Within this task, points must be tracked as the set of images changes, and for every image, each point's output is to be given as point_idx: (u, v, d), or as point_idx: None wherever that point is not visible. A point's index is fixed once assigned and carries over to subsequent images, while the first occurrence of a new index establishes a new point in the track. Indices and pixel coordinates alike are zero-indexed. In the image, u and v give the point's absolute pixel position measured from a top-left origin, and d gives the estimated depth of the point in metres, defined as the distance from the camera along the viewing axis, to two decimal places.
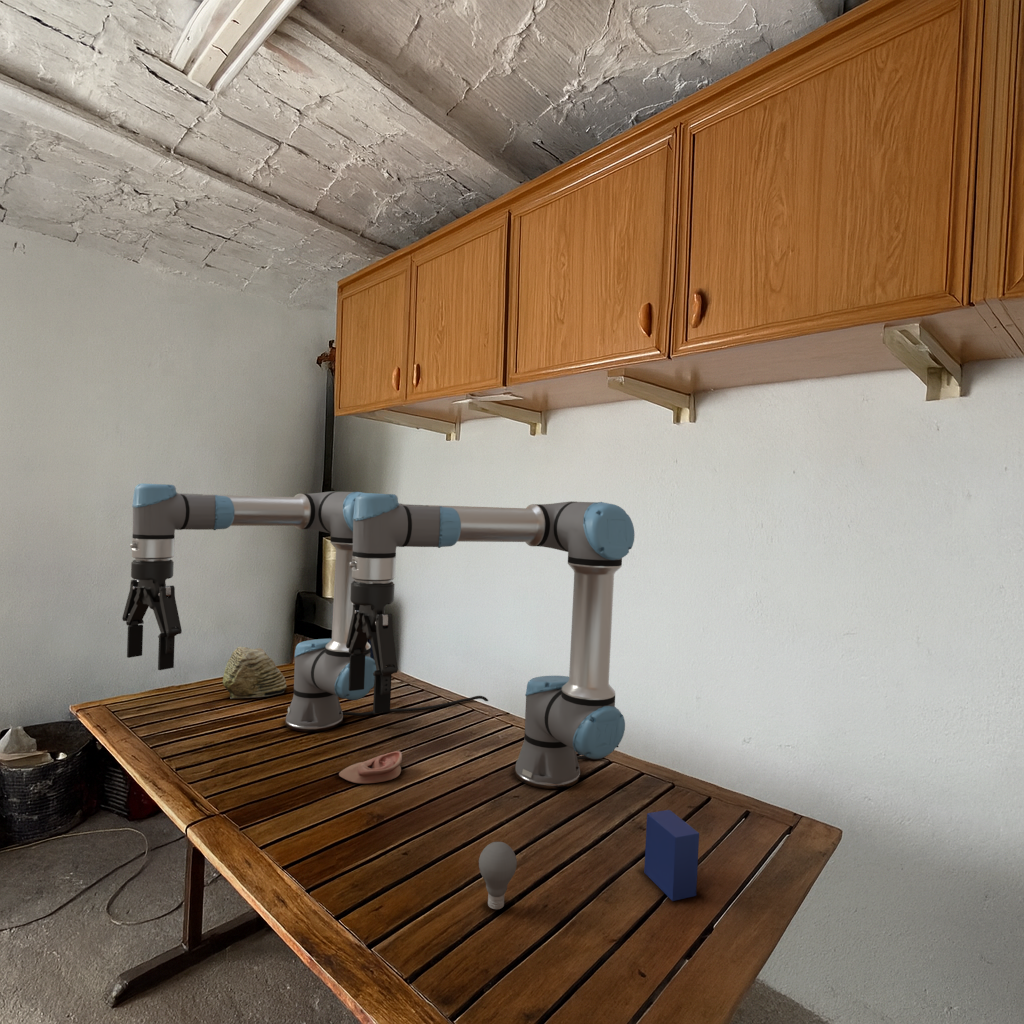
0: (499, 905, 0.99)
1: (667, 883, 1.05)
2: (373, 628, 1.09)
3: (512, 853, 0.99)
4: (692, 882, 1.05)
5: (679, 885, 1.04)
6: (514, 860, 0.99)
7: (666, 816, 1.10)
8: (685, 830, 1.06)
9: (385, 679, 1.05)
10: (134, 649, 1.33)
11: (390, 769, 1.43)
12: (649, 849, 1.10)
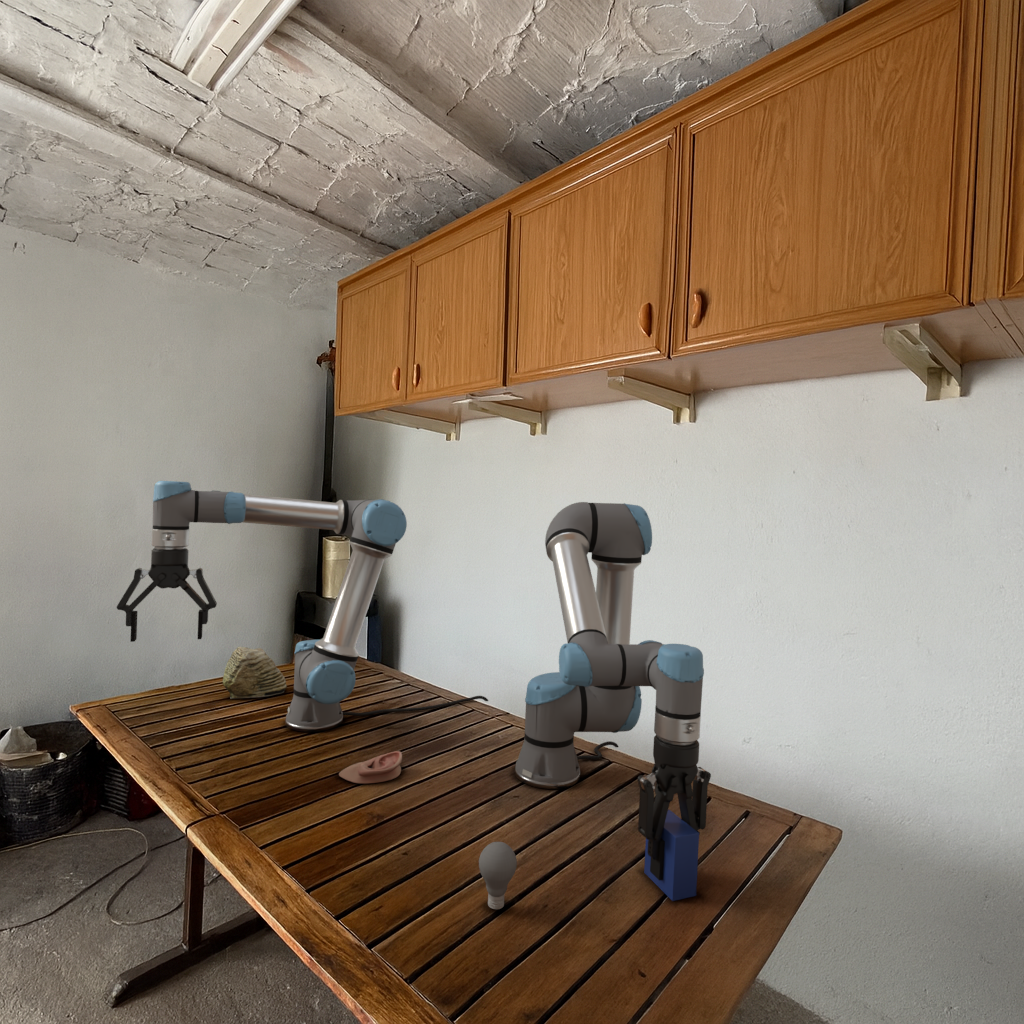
0: (499, 905, 0.99)
1: (667, 883, 1.05)
2: None
3: (512, 853, 0.99)
4: (692, 882, 1.05)
5: (679, 885, 1.04)
6: (514, 860, 0.99)
7: (666, 816, 1.10)
8: (685, 830, 1.06)
9: None
10: (135, 633, 1.44)
11: (390, 769, 1.43)
12: None
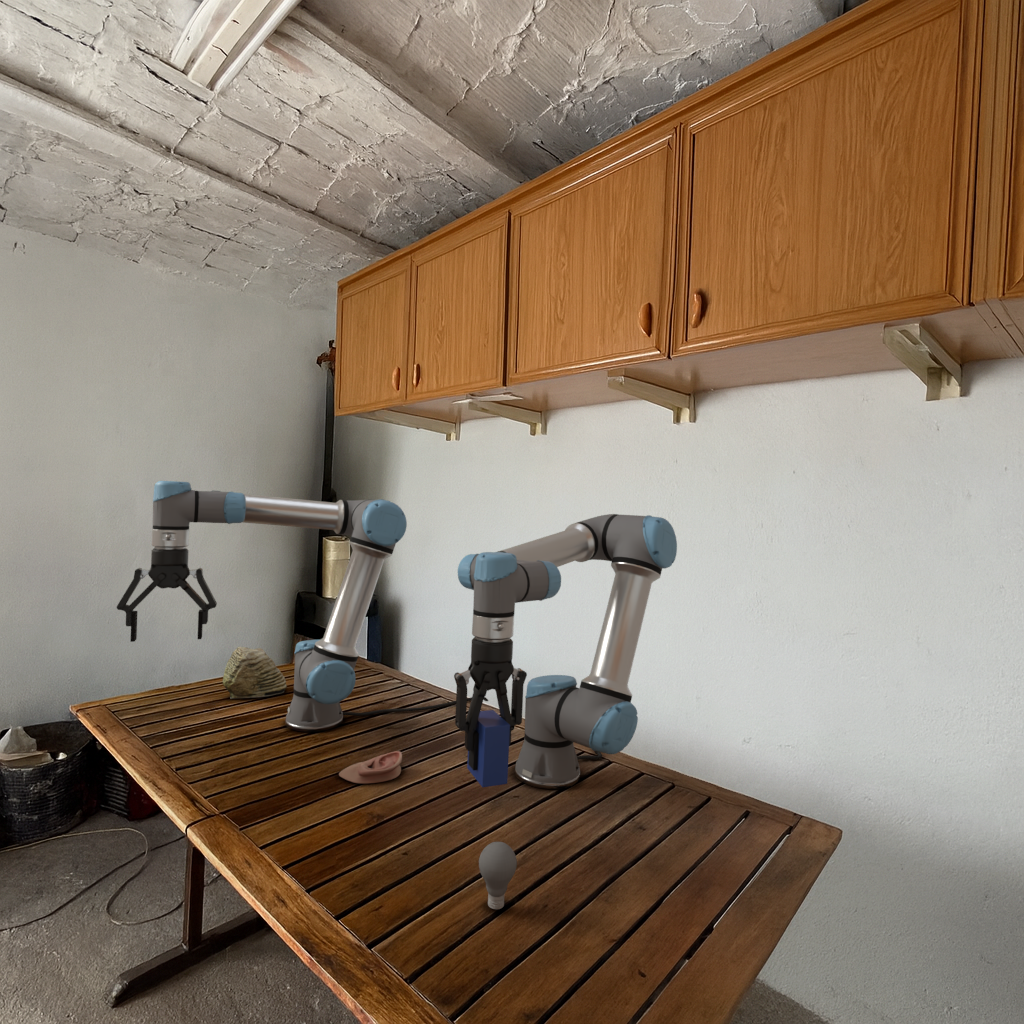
0: (499, 905, 0.99)
1: (479, 772, 1.12)
2: None
3: (512, 853, 0.99)
4: (503, 771, 1.12)
5: (489, 773, 1.11)
6: (514, 860, 0.99)
7: (486, 714, 1.17)
8: (498, 722, 1.13)
9: None
10: (135, 633, 1.44)
11: (390, 769, 1.43)
12: None
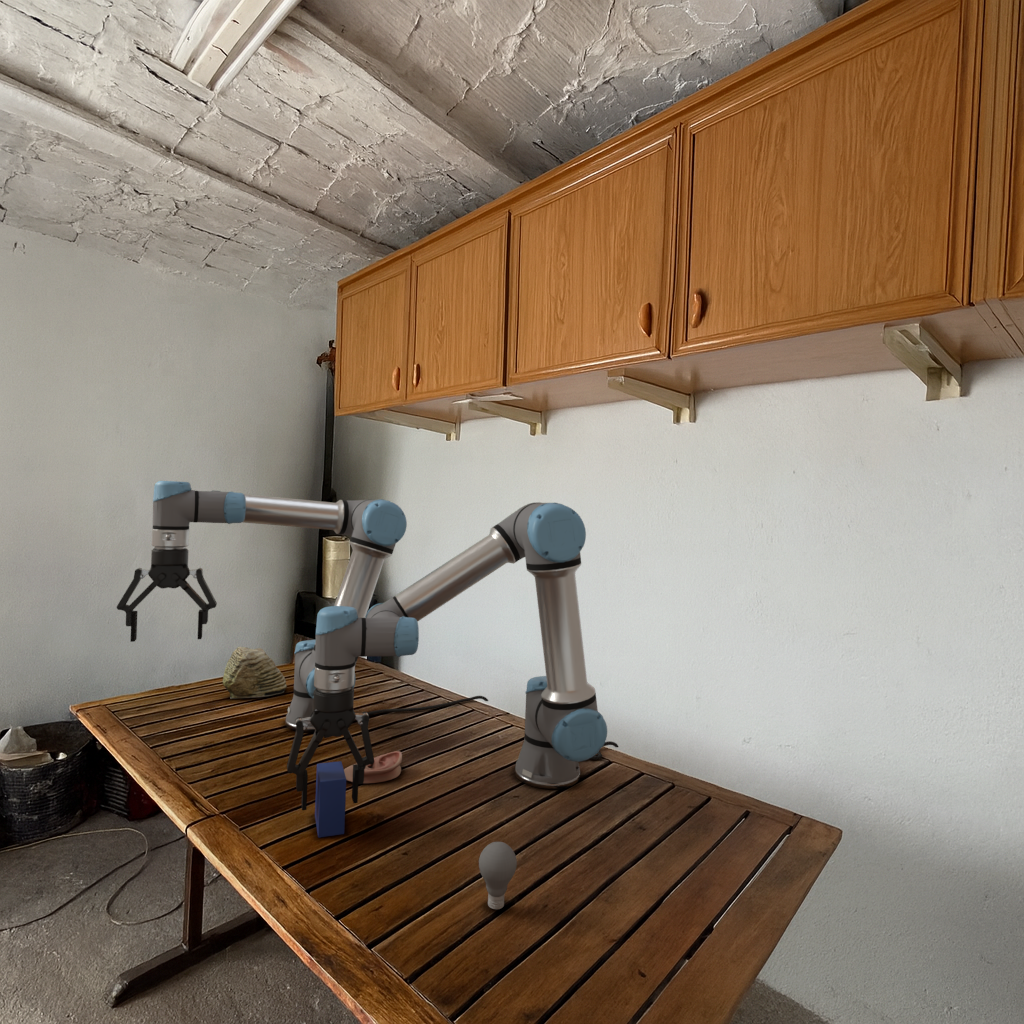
0: (499, 905, 0.99)
1: None
2: (348, 727, 1.23)
3: (512, 853, 0.99)
4: (339, 822, 1.19)
5: (325, 824, 1.18)
6: (514, 860, 0.99)
7: (331, 766, 1.24)
8: (336, 776, 1.20)
9: (363, 769, 1.25)
10: (135, 633, 1.44)
11: (390, 769, 1.43)
12: (316, 795, 1.24)
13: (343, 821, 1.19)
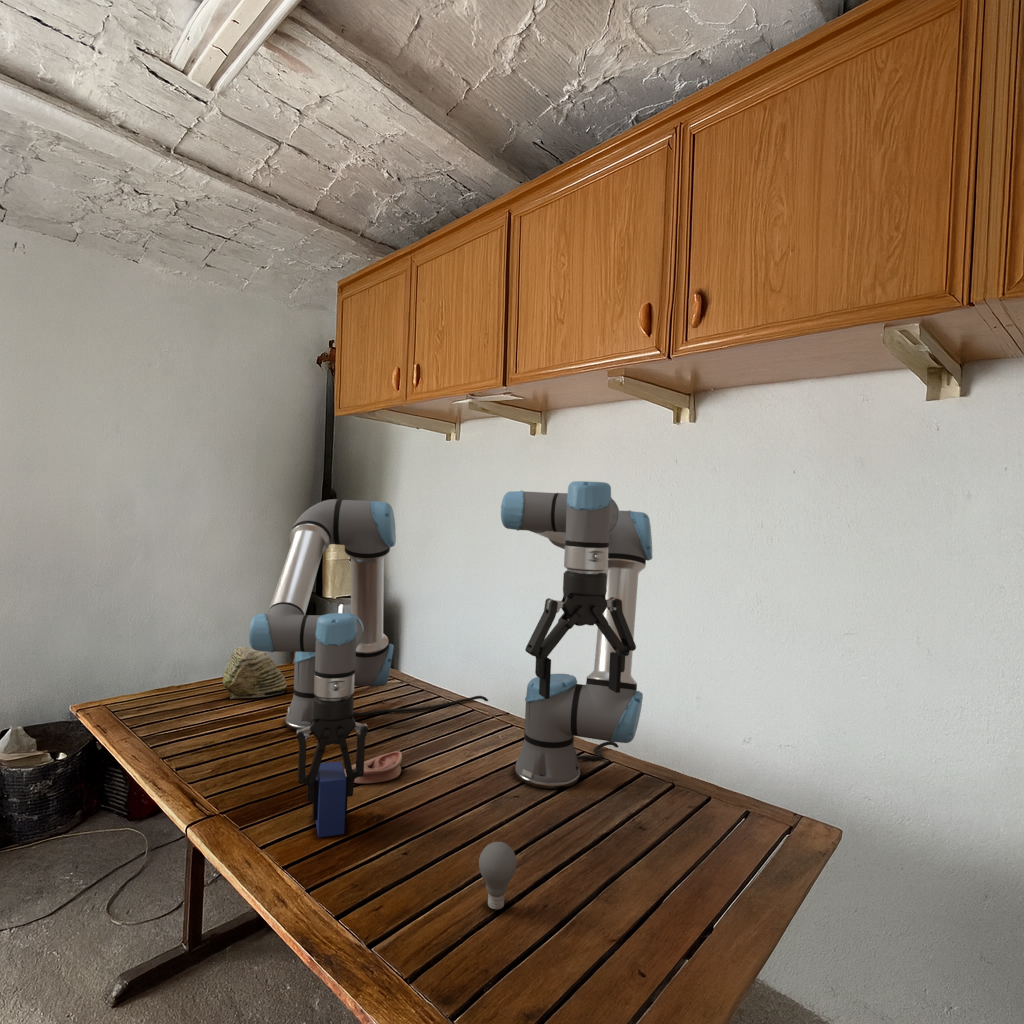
0: (499, 905, 0.99)
1: None
2: None
3: (512, 853, 0.99)
4: (339, 822, 1.19)
5: (325, 824, 1.18)
6: (514, 860, 0.99)
7: (331, 766, 1.24)
8: (336, 776, 1.20)
9: None
10: None
11: (390, 769, 1.43)
12: None
13: (343, 821, 1.19)
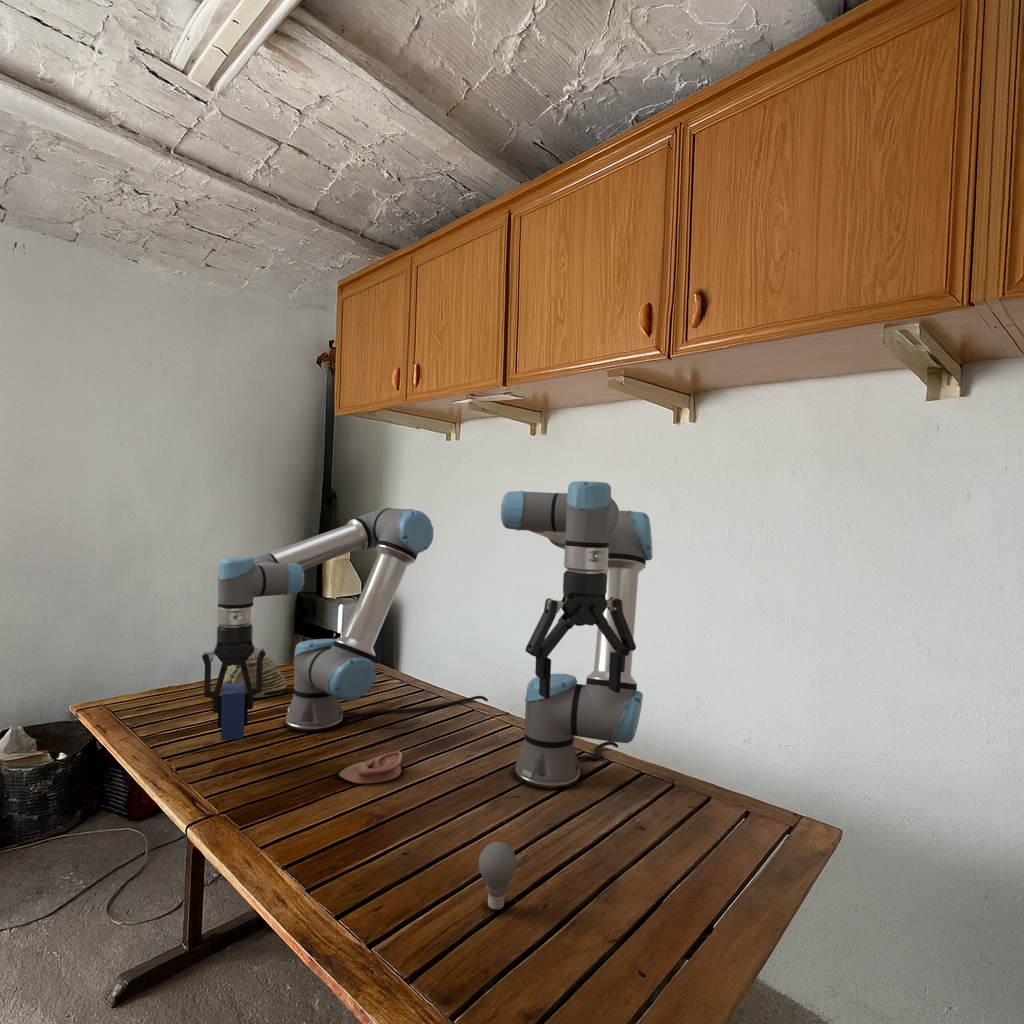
0: (499, 905, 0.99)
1: None
2: None
3: (512, 853, 0.99)
4: (239, 728, 1.43)
5: (227, 729, 1.42)
6: (514, 860, 0.99)
7: (234, 685, 1.48)
8: (237, 690, 1.44)
9: None
10: None
11: (390, 769, 1.43)
12: None
13: (242, 727, 1.43)
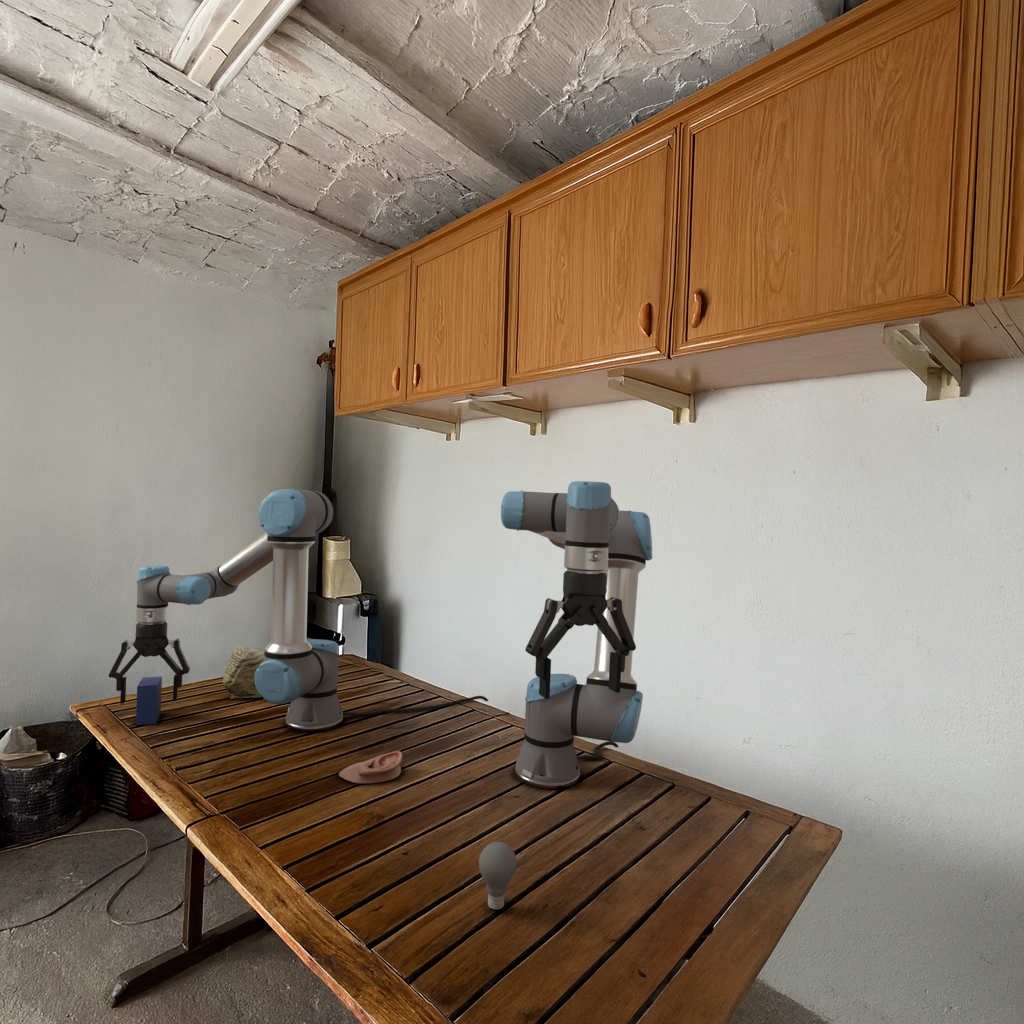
0: (499, 905, 0.99)
1: None
2: None
3: (512, 853, 0.99)
4: (152, 715, 1.70)
5: (141, 716, 1.69)
6: (514, 860, 0.99)
7: (152, 678, 1.75)
8: (151, 683, 1.71)
9: None
10: (124, 696, 1.71)
11: (390, 769, 1.43)
12: None
13: (155, 714, 1.70)
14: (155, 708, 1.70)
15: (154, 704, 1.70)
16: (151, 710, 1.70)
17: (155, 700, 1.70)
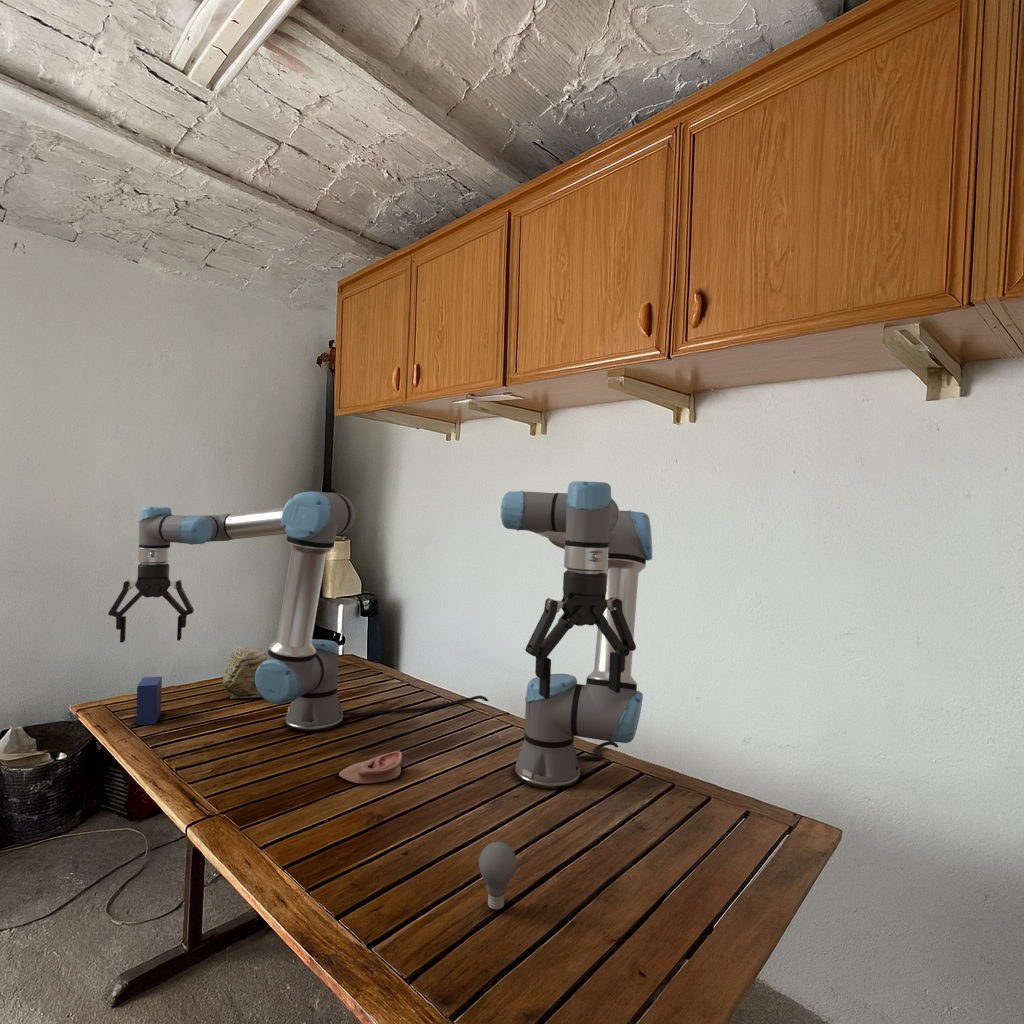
0: (499, 905, 0.99)
1: None
2: None
3: (512, 853, 0.99)
4: (152, 715, 1.70)
5: (141, 716, 1.69)
6: (514, 860, 0.99)
7: (152, 678, 1.75)
8: (151, 683, 1.71)
9: None
10: (124, 635, 1.71)
11: (390, 769, 1.43)
12: None
13: (155, 714, 1.70)
14: (155, 708, 1.70)
15: (154, 704, 1.70)
16: (151, 710, 1.70)
17: (155, 700, 1.70)
